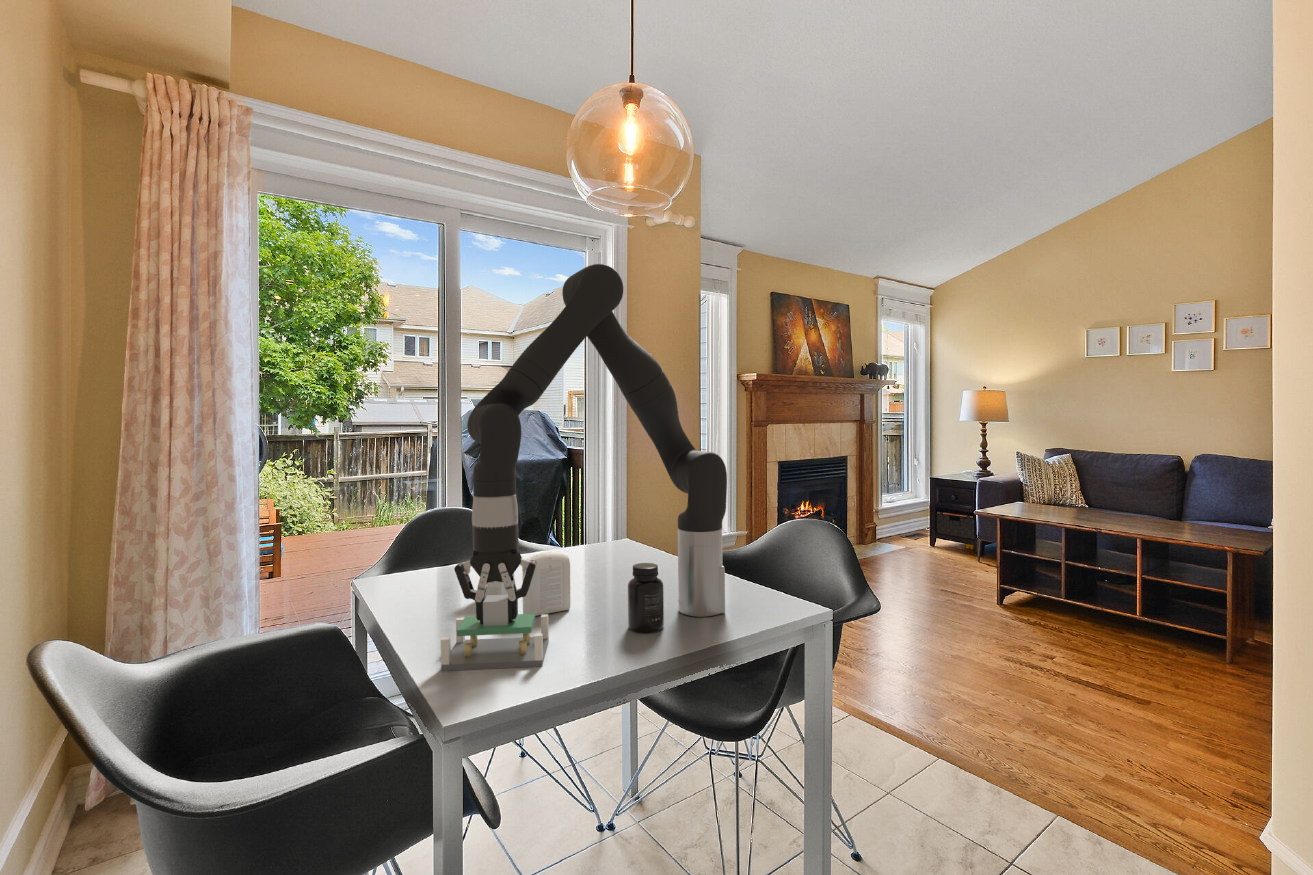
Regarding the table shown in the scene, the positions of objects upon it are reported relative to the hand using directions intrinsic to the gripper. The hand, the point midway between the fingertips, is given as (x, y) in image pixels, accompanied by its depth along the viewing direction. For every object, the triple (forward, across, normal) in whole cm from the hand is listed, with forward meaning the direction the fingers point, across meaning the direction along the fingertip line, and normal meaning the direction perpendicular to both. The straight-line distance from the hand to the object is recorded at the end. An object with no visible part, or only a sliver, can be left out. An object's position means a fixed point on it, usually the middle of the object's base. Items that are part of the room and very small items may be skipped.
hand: (497, 621), depth 103 cm
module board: (+1, 0, 0) cm, 1 cm away
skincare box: (+6, +6, -35) cm, 36 cm away
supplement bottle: (+6, -26, -11) cm, 29 cm away
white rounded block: (+6, -6, -23) cm, 25 cm away
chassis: (+6, 0, 0) cm, 6 cm away
